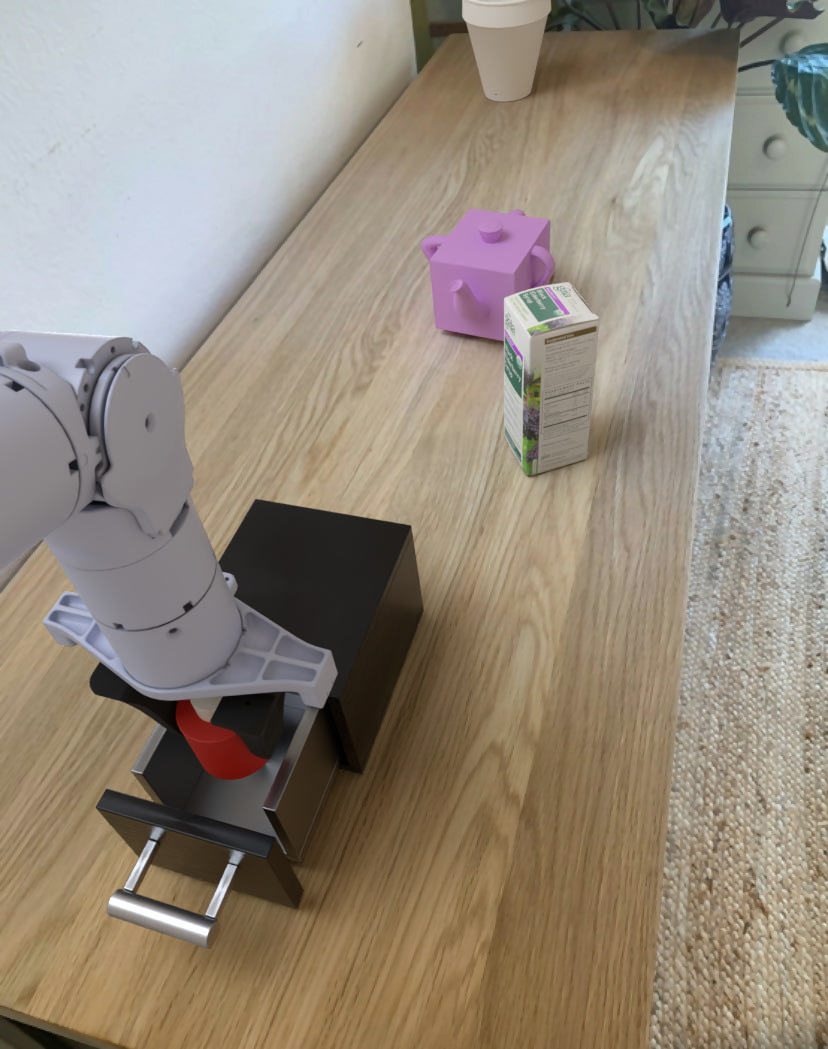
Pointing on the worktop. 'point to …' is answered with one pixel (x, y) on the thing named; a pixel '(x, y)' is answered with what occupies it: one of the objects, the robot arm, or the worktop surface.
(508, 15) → the cup
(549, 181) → the worktop surface
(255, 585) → the cabinet
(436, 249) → the teapot
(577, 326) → the syrup box
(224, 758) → the bottle
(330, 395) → the worktop surface
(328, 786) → the drawer
